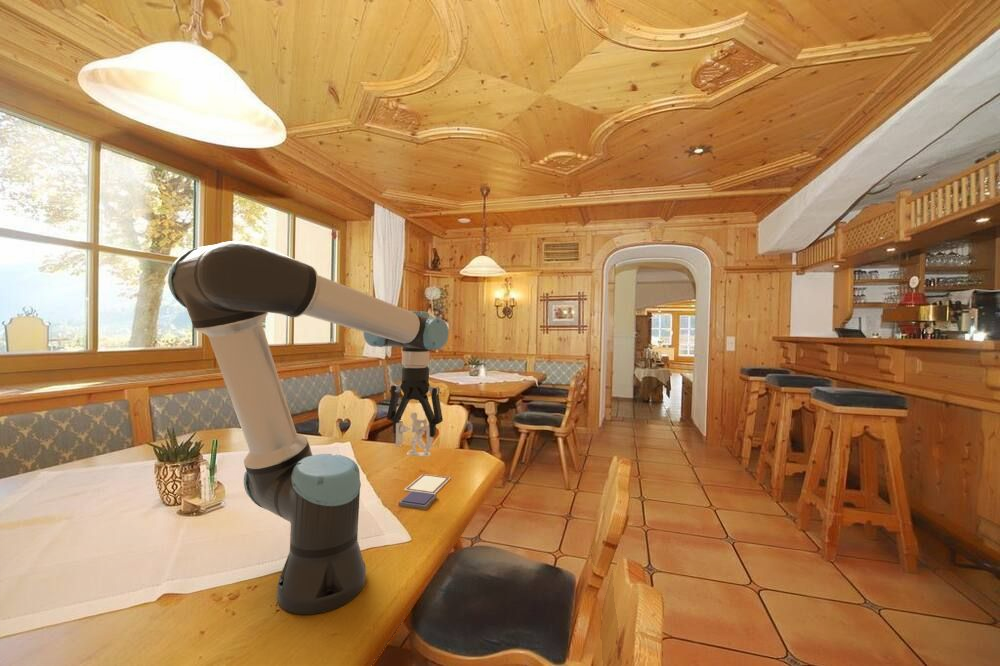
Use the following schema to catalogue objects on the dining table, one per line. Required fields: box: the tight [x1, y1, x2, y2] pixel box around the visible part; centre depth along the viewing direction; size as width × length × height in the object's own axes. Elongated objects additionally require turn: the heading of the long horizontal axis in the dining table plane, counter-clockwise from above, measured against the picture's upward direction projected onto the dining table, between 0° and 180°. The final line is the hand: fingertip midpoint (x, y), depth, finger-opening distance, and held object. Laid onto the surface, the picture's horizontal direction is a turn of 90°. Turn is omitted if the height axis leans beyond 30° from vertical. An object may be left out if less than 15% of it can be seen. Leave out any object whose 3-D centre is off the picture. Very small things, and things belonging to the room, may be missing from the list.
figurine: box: [400, 412, 432, 458], centre depth 111 cm, size 5×9×12 cm, turn 87°
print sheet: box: [403, 473, 452, 495], centre depth 126 cm, size 14×10×1 cm
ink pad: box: [398, 491, 437, 511], centre depth 112 cm, size 8×8×1 cm
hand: (414, 446), depth 111 cm, fingers closed on figurine, 8 cm apart
